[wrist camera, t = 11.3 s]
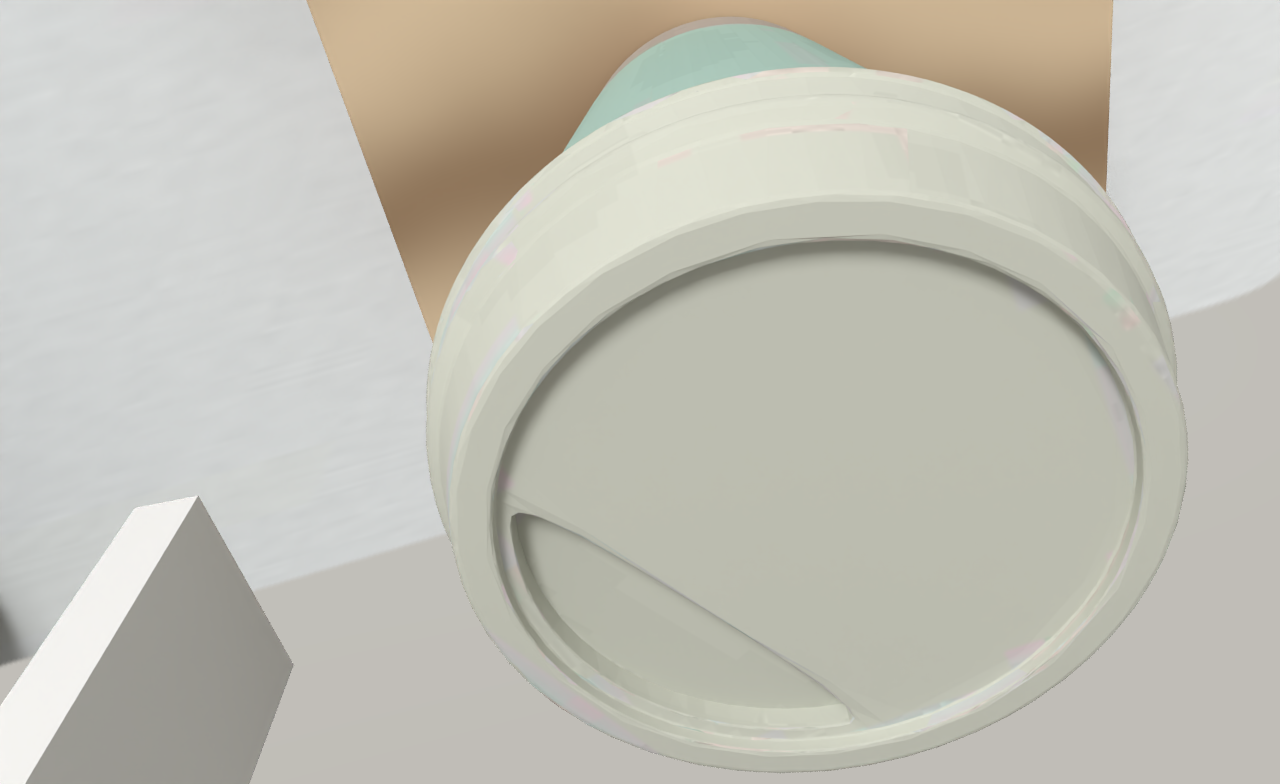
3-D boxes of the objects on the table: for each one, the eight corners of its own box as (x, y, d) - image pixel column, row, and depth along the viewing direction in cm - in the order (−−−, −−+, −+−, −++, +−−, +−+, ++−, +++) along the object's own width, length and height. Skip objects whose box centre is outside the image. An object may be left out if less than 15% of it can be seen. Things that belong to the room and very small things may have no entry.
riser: (956, 214, 34) (1098, 398, 23) (533, 297, 35) (492, 504, 25) (931, -311, 26) (1126, -381, 16) (392, -175, 27) (248, -157, 17)
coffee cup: (448, 26, 19) (225, 302, 9) (888, -132, 17) (1249, -30, 7) (598, 387, 23) (568, 860, 13) (961, 282, 22) (1254, 719, 11)
